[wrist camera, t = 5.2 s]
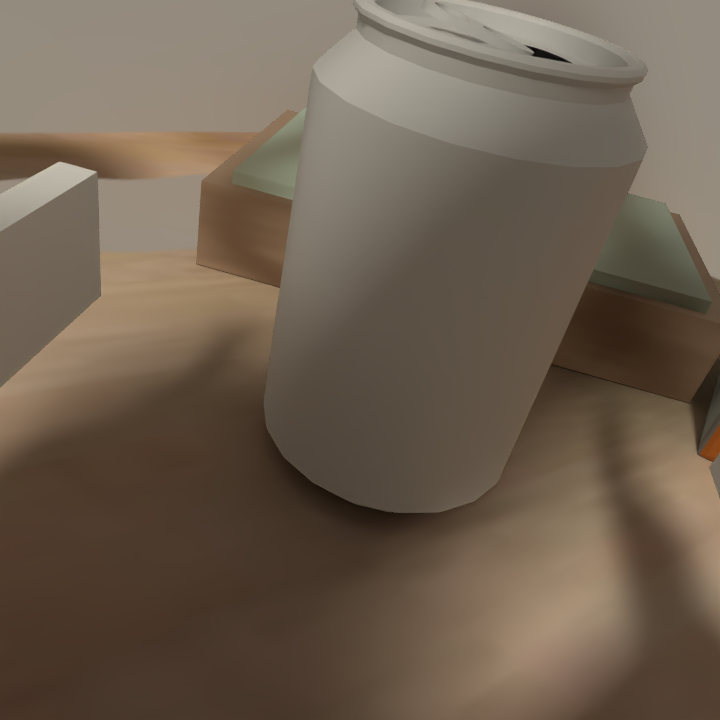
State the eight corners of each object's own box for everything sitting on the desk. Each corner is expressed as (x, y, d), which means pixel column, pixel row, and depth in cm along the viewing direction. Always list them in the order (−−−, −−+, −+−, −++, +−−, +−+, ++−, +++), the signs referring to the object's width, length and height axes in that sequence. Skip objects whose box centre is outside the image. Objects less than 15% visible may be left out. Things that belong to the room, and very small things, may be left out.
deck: (647, 276, 35) (684, 205, 33) (689, 402, 26) (743, 316, 24) (278, 176, 36) (289, 99, 34) (196, 263, 27) (202, 167, 25)
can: (523, 550, 18) (758, 101, 12) (246, 520, 17) (322, 8, 10) (477, 380, 24) (613, 20, 18) (270, 351, 23) (327, -44, 17)
